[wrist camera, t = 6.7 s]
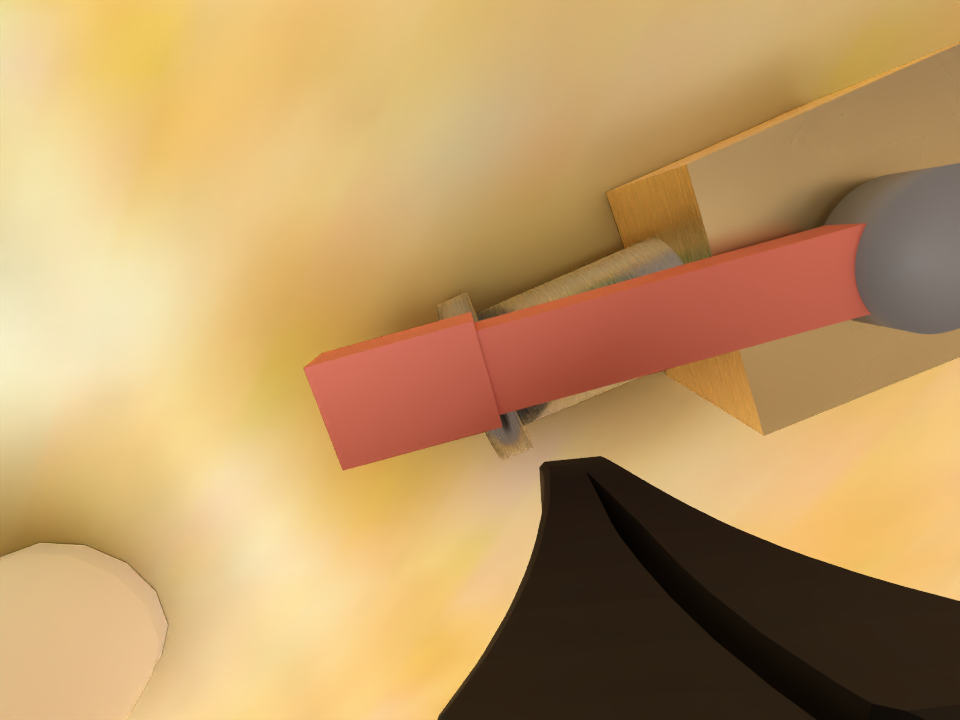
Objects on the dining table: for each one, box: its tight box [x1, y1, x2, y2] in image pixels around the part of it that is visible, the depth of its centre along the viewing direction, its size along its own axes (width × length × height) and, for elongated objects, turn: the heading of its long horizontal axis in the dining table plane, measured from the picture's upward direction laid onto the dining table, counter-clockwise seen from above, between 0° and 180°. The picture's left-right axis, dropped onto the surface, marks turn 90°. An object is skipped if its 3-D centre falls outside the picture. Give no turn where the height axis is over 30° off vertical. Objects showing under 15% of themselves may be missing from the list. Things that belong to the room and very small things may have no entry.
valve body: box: [437, 42, 960, 460], centre depth 11 cm, size 17×6×5 cm, turn 113°
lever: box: [304, 163, 960, 470], centre depth 8 cm, size 12×3×1 cm, turn 105°
